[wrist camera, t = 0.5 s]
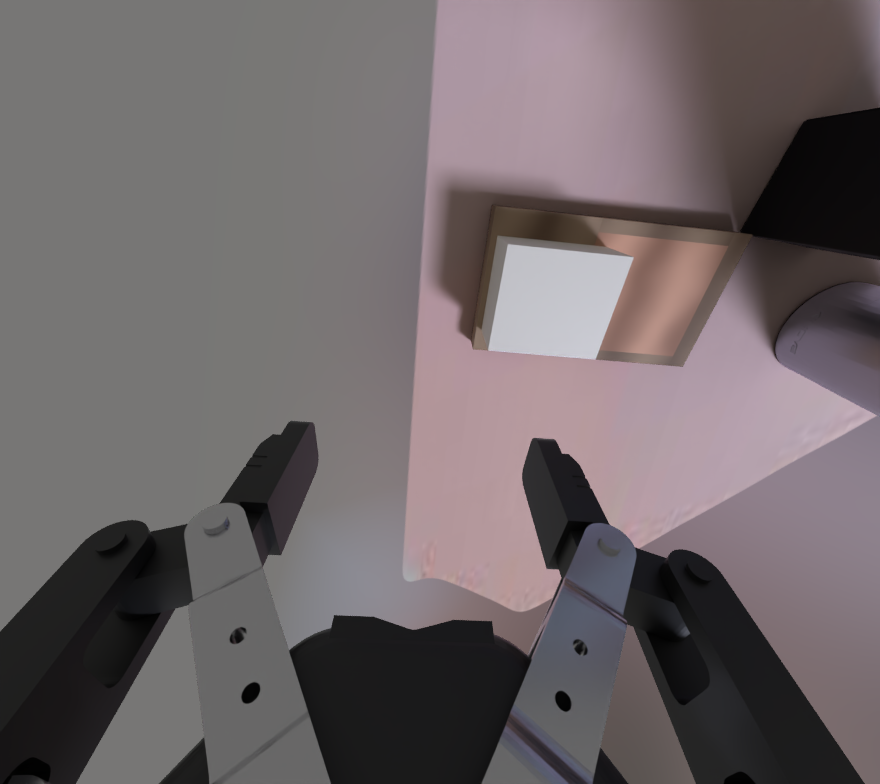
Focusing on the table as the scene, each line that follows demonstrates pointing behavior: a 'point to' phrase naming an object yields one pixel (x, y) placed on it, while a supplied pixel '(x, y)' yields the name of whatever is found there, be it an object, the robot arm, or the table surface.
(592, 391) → the table surface
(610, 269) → the carton
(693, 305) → the podium
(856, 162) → the black rectangular column
